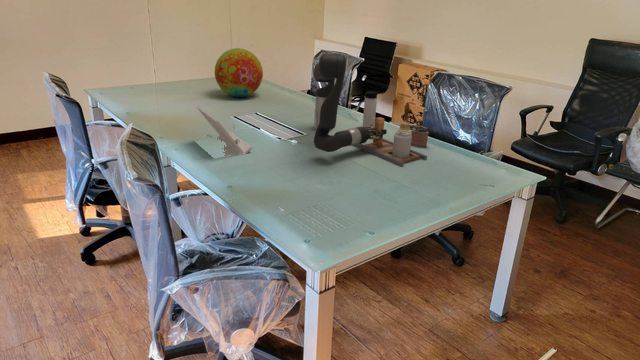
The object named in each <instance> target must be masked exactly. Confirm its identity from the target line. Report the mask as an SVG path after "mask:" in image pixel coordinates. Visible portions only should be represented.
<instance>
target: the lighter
mask: <svg viewBox="0 0 640 360" xmlns="http://www.w3.org/2000/svg"><path fill="white" fill-rule="evenodd" d="M427 129H428V128H427V127H426V126H423V125H420V126H419V125H414V124H413V127H412V129H411V132H412V134H411V136H412V139H411V147H415V148H422V149H423V148H424V149H425V148H427V147H428V146H427V144H428V138H429V133H430V132H429V131H428V130H427Z"/></svg>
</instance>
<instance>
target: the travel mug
mask: <svg viewBox="0 0 640 360" xmlns="http://www.w3.org/2000/svg"><path fill="white" fill-rule="evenodd" d="M378 94H379V91H378V90H368V91H365V92H364V100H363V101H364V102H363V103H364V104H363V118H362V127H371V128H374V126H375V118H376V115H377V114H376V111H377V104H378V103H377V102H378Z"/></svg>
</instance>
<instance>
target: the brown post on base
mask: <svg viewBox="0 0 640 360" xmlns="http://www.w3.org/2000/svg"><path fill="white" fill-rule="evenodd" d="M384 129H385V118H383V117H380V116H379V117H375V126H374V130H377V131H378V130H384ZM378 133H379V132H378ZM378 133H377V134H378ZM383 139H384V136H383V137H382V138H381V139H379V140H376V138H373V139H372V142H370V143H366V144H365V143H364V145H365V146H368V147H370V148H372V149H375V150H377V151H379V152H382V153H384V154H386V155H389V156H391V157H393V158H396V159H398V160H400V161H403V162H404V164H407V163H410V162H414V161H418V160H421V159H420V155H417V154H415V153H412V152H410V155H409V157H408V158H404V159H399V158H397V157H395V156H392V152H393V145H392V144H390V143H387V142H385V141H383Z"/></svg>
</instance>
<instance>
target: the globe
mask: <svg viewBox="0 0 640 360" xmlns="http://www.w3.org/2000/svg"><path fill="white" fill-rule="evenodd" d="M263 77H264V72H263V66H262V63H261V61H260V60H259V58H258V57H257V56H256V55H255V54H254V53H253V52H251V51H250V50H247V49H245V48H240V47H239V48H230V49H228V50H227V51H224V52H223V53H222V54H221V55H219V58H218V59H217V60H216V63H215V67H214V78H215V81H216V84H217V85H218V87H219V88H220V89H221V91H223V92H224V93H226V95H229V96H232V97H234V98H235V97H236V98H244V97H248V96H250V95H252V94H254V93H255V92H256V91H257V90H258V89H259V87H260V86H261V85H262V81H263Z"/></svg>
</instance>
